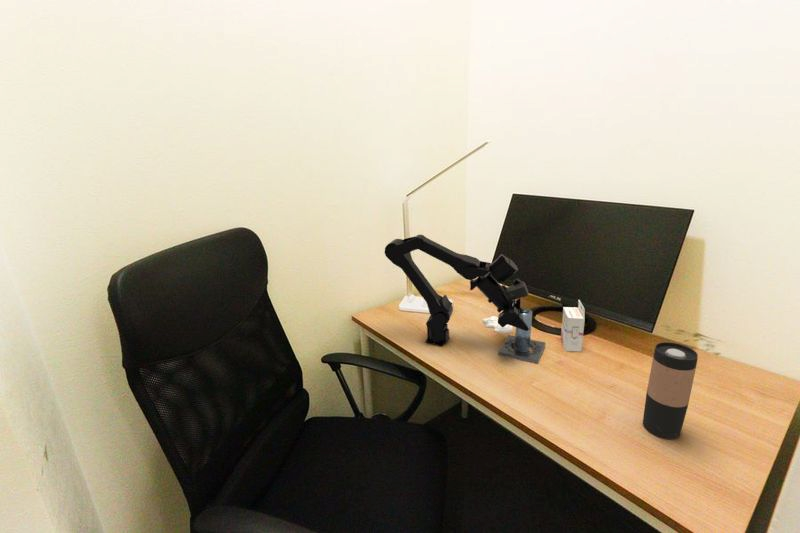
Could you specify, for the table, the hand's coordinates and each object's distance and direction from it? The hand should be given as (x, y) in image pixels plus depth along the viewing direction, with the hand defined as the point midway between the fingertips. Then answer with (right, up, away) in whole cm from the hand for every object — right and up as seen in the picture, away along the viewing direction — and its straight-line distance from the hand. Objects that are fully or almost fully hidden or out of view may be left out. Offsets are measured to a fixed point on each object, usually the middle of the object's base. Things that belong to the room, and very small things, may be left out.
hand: (528, 326), depth 118 cm
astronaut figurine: (-4, -4, +20) cm, 21 cm away
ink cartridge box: (+15, -7, +5) cm, 18 cm away
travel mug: (+20, -18, -32) cm, 42 cm away
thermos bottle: (-1, -8, +3) cm, 8 cm away
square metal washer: (-1, -8, +3) cm, 9 cm away
